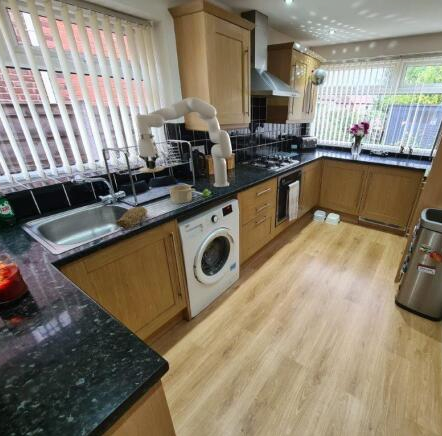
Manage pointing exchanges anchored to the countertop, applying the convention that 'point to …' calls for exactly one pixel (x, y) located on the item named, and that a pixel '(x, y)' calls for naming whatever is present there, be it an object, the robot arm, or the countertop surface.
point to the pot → (180, 193)
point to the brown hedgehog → (132, 217)
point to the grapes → (206, 193)
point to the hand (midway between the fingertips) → (151, 167)
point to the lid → (151, 168)
